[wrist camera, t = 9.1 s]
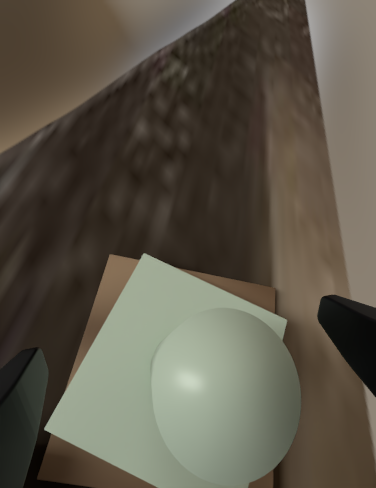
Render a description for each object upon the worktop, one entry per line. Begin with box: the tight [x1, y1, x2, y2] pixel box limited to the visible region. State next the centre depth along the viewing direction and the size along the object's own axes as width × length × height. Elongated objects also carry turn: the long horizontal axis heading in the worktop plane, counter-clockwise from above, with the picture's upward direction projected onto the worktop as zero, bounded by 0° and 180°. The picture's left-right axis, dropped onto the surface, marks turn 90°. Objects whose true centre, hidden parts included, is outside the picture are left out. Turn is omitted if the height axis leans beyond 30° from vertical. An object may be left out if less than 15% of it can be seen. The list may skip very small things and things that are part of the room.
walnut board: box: [37, 254, 275, 488], centre depth 14 cm, size 11×11×1 cm
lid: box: [44, 253, 301, 488], centre depth 9 cm, size 9×9×9 cm
